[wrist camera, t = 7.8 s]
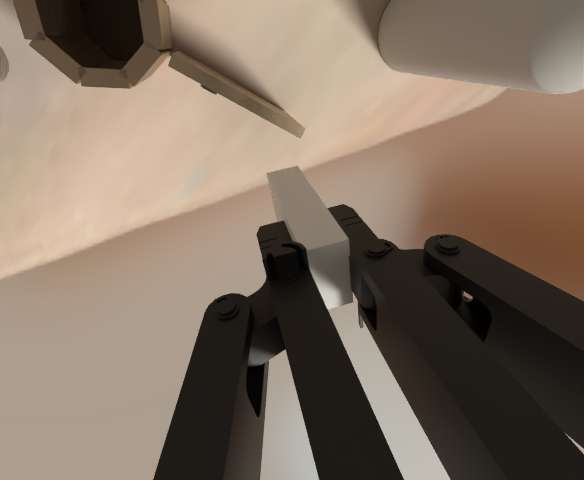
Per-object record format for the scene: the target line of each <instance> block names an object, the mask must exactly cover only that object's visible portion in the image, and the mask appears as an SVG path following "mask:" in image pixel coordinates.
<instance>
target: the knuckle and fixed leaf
mask: <svg viewBox="0 0 584 480" xmlns="http://www.w3.org/2000/svg"><path fill="white" fill-rule="evenodd" d="M79 1H80V0H13V3H14V6H15V9H16V12H17V16H18V19H19V22H20V25H21V28H22V32H23V35H24V38H25V39H30V40H32V41H31V43H30V44H29V45H30V46H31V47H32V48H33V49H35V50H36V51H37V52H38V53H39V54H41V55H42V56H43V57H44V58H45V59H47V60H48V61H49V62H50V63H52V64H53V65H54V66H55V67H56V68H58V69H59V70H60V71H61V72H62V73H64V74H65V75H66V76H67V77H69V78H70V79H71V80H72V81H73V82H75V83H76V84H78V83H81V85H82V86H87V87H108V88H129V89H130V88H131V87H133V86H134V87H135V86H136V85H138V84H139V83H141V82H142V81H144V80H145V79H147V78H148V77H150V76H151V75H152V74H153V73H154V72H155V70H156V69H157V68H158V67H159V66H160V65H161V64H162V62H163V61H164V60H165V59H166V58H167V57H168V55H169V54H170V53H171V52H172V50H171V49H170V48H173V41H172V32H171V22H170V13H169V6H168V5H167V4H166V3H167V2H166V1H165V0H138V6H139V13H140V19H141V26H142V33H143V40H144V43H143V45H142V46H141V47H140V48H139V49H138V51H137V52H136V53H135V54H134V55H133V57H132V58H131V59H130V60H129V61H128V62H124V61H113V60H112V59H111V58H110V57H108V56H107V55H106V54H105V53H104V52H103V51H102V50H101V49H100V48H99V47H98V46H97V45H95V44H94V43H93V42H92V41H91V40H90V39H89V38H88V37H87V35H86V31H85V26H84V22H83V17H82V13H81V8H80V4H79Z"/></svg>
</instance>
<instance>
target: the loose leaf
mask: <svg viewBox="0 0 584 480" xmlns="http://www.w3.org/2000/svg"><path fill="white" fill-rule="evenodd" d="M168 66H169V67H171V68H173V69H175V70H177V71H178V72H180V73H182V74H184V75H186V76H187V77H189V78H191V79H193V80H195V81H197V82H198V83H200V84H201V87H203V88H204V89H206V90H208V91H210V92H211V93H214V94H217V93H218V94H220V95H222V96H224V97H226V98H227V99H229V100H231V101H233V102H235V103H237V104H238V105H240V106H242V107H244V108H246V109H248V110H249V111H251V112H253V113H255V114H257V115H258V116H260V117H262V118H264V119H266V120H268V121H269V122H271V123H273V124H275V125H277V126H278V127H280V128H282V129H284V130H286V131H288V132H289V133H291V134H293V135H295V136H297V137H298V138H301V136H302V135H303V133H304V131H305V128H304V127H303V126H302V125H300V124H299V123H298V122H297V121H296V120H295V119H294V118H292V117H291V116H290V115H289V114H288V113H286V112H285V111H283V110H281V109H279V108H278V107H276V106H274V105H273V104H271V103H269V102H267V101H266V100H264V99H262V98H260V97H259V96H257V95H255V94H254V93H252V92H250V91H248V90H247V89H245V88H243V87H242V86H240V85H238V84H236V83H235V82H233V81H231V80H229V79H228V78H226V77H224V76H223V75H221V74H219V73H217V72H216V71H214V70H212V69H210V68H209V67H207V66H205V65H204V64H202V63H200V62H198V61H197V60H195V59H193V58H191V57H190V56H188V55H186V54H185V53H183V52H181V51H177V52H174V53H172V56H171V59H170V62H169V65H168Z"/></svg>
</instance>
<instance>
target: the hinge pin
mask: <svg viewBox="0 0 584 480" xmlns="http://www.w3.org/2000/svg"><path fill="white" fill-rule="evenodd" d="M8 70H9V65H8V60H7V57H6V55H5V53H4V51H3V50H2V48H1V47H0V82H2V81H3V80H4V79H5V78H6V76H7V74H8Z"/></svg>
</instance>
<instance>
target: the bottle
mask: <svg viewBox="0 0 584 480" xmlns="http://www.w3.org/2000/svg"><path fill="white" fill-rule="evenodd" d="M378 45H379V50H380V53H381V56H382V58H383V60H384V61H385V63H386V64H387V65H388V66H389V67H390V68H392V69H393V70H396V71H399V72H402V73H410V74H415V75H421V76H428V77H435V78H443V79H450V80H457V81H464V82H471V83H479V84H486V85H493V86H500V87H507V88H515V89H522V90H529V91H536V92H543V93H551V94H564V93H572V92H576V91H578V90H581V89H584V0H391V1H390V2H389V4H388V5H387V7H386V9H385V11H384V13H383V15H382V18H381V21H380V25H379V31H378Z"/></svg>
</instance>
